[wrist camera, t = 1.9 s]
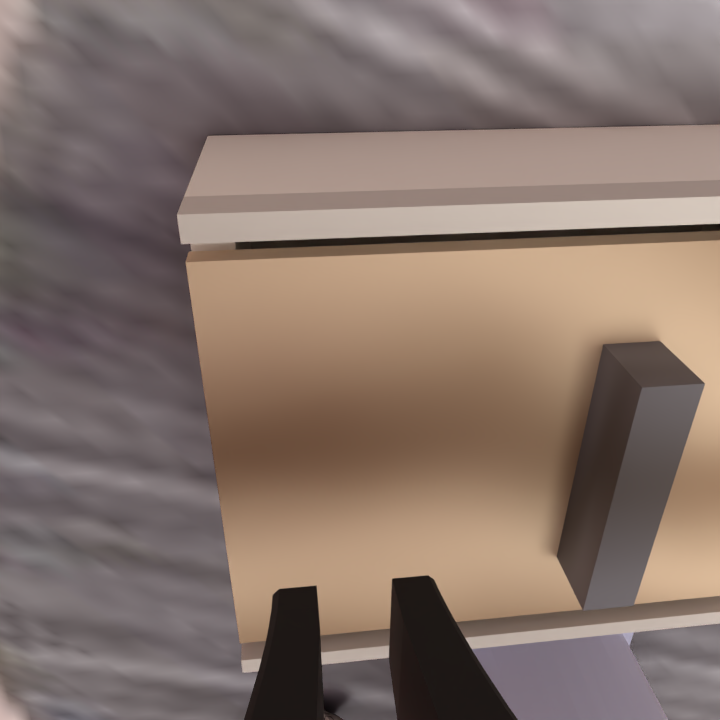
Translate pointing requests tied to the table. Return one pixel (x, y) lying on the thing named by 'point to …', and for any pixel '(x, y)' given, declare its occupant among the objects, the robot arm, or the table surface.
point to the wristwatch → (331, 716)
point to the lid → (465, 422)
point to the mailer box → (460, 223)
